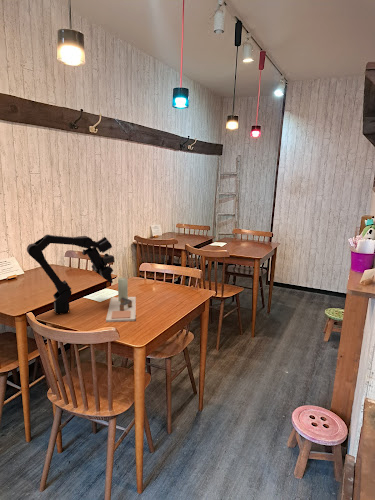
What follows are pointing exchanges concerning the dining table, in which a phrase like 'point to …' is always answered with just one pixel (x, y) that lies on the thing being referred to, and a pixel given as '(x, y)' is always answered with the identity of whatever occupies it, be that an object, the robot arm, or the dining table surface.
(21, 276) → the dining table surface
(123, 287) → the grey upright cylinder
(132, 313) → the base board
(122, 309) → the brown arch piece
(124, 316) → the mat
